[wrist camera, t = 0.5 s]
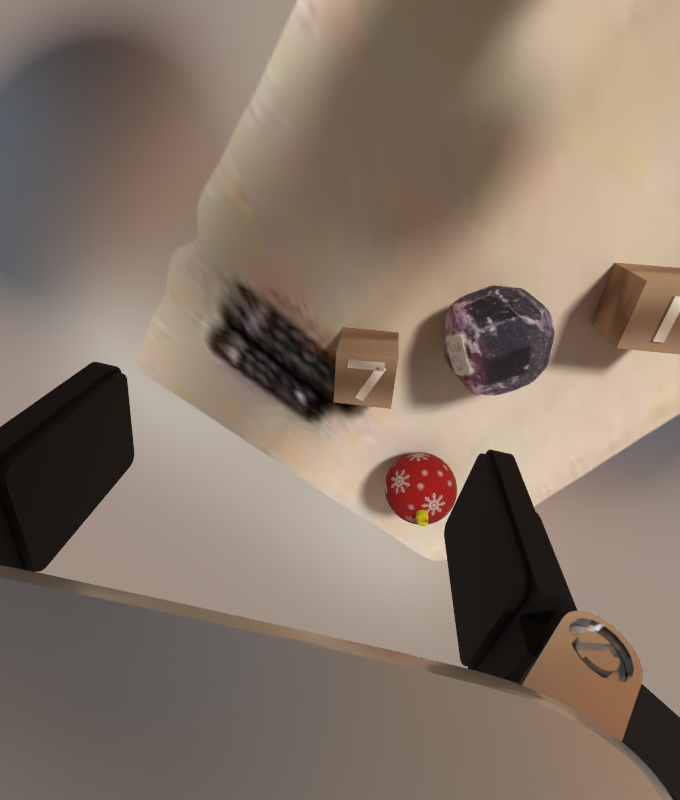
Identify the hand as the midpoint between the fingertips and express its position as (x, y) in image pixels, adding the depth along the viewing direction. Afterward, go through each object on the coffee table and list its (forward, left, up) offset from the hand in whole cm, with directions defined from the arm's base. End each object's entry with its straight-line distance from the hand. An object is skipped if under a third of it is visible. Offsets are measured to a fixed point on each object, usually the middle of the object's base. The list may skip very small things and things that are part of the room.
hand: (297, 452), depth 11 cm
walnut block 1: (+4, +26, -34) cm, 43 cm away
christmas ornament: (+28, +9, -34) cm, 45 cm away
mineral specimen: (+8, +13, -34) cm, 37 cm away
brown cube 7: (+13, +1, -34) cm, 37 cm away
